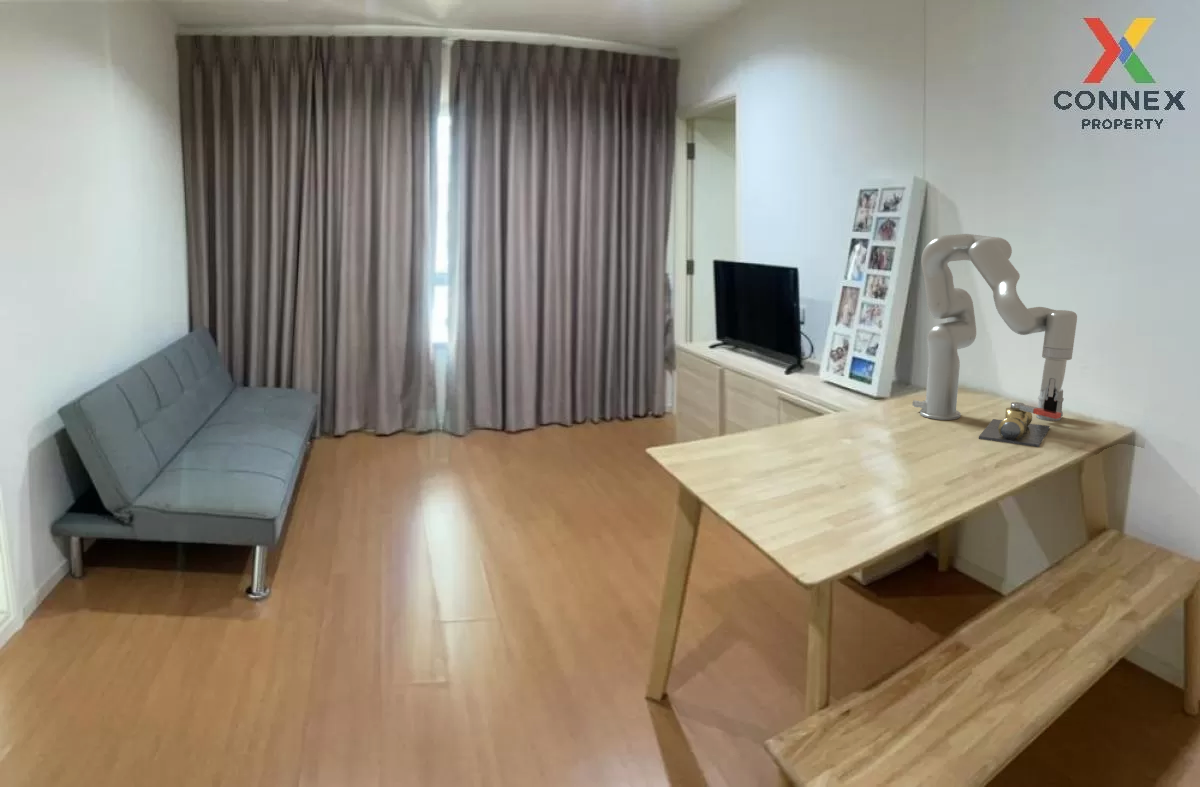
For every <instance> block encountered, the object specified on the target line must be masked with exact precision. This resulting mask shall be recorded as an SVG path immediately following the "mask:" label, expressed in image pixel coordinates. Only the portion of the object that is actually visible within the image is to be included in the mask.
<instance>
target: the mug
mask: <svg viewBox="0 0 1200 787" xmlns="http://www.w3.org/2000/svg"><path fill="white" fill-rule="evenodd" d="M1039 391H1040V392H1039V395H1038V398H1037V399H1038V403H1037V408H1043V409H1044V402H1045V399H1046V391H1047V388H1046V390H1045V391H1043V392H1042V391H1041V389H1040V390H1039ZM1063 396H1064V390H1063V388H1061V390H1060V392H1059V393H1058V396H1057V400H1058V402H1057V410H1056V412H1060V413H1061V418H1057V419H1054V418H1050V417H1046V416H1042V415H1038V414H1035V415H1036V418H1037V419H1039V420H1042V421H1049V422H1051V421H1052V422H1056V421H1061V420H1062V417H1063V415H1064V413H1063V402H1064V397H1063Z"/></svg>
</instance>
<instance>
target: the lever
mask: <svg viewBox="0 0 1200 787" xmlns="http://www.w3.org/2000/svg"><path fill="white" fill-rule="evenodd" d="M1010 407H1011V409H1013V410H1022V411H1026V412H1030V413H1032V415H1033V414H1034V415H1037V414H1038V415H1042V416H1046V417H1050V418H1054V419H1057V418H1061V419H1062V417H1061V413H1060V412H1055V411H1051V410H1047V409H1043V408H1038V406H1037V407H1036V406H1032V405H1028V404H1025V403H1023V402H1017V401H1014V402H1010Z"/></svg>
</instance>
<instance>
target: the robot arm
mask: <svg viewBox="0 0 1200 787" xmlns="http://www.w3.org/2000/svg"><path fill="white" fill-rule="evenodd" d="M1012 253H1013V250H1012V245H1011V244H1010V242H1009V241H1007V240H1006V239H1005V238H1002V237H999V236H987V235H980V234H972V233H960V234H959V233H957V234H945V235H941V236H938V237H935V238H933V239H932V240H931V241H930V242H928V243H927V245H926V246H925V247H924V249H923V251H922V253H921V259H920V261H921V269H922V274H923V279H924V288H925V296H926V303H927V309H928V312H929V315H930V316H931V317H932V318H934V319H937V320H945V319H946V322H942V323H938V324H936V325H935V326H933V327H932V328H931V329H930V330H929V331H928V334H927V338H926V339H927V341H926V344H927V352H928V366H927V376H926V377H927V380H926V391H925V392H926V394H925V396H926V397H925V400H922V401H920V400H915V399H913V400H912V406H913V407H914V408H921V409H920V410H919V415H921V417H924V418H927V419H932V420H941V421H949V420H950V421H953V420H958V419H960V418H961V416H962V413H961V412H960V411H959V410H957V405H958V404H957V403H958V394H959V393H958V390H959V378H960V358H959V354H958V350H961V349H964V348H967V347H970V346H971V345H972V344H973V343H974V342H975V340H976V338H977V324H976V316H975V315H976V314H975V309H974V301H973V299H972V297H971V295H970V293H969V292H968V291H967V290H965V289H963V288H960V287H959V288H958V287H955V285H954V277H953V273H952V271H951V268H950V267H949V265H948V263H949V262H958V261H959V262H960V261H970V262H971V263H972V265H973V267H975V268H976V270H977V271H978V272H979V274H980V275H981V277H983V279H984V280H985V282H986V284H987V285H988V286H989V287H990V289H991V291H992V294H993V295H992V296H993V301H994V304H995V309H996V311H997V313H998V314H999V316H1000V318H1002V320H1003V322H1004V324H1006V326H1007V327H1008V328H1009V329H1010V330H1011V331H1012V332H1014V333H1015V334H1016V335H1017V334H1018V335H1020V336H1026V335H1031V334H1035V333H1036V334H1037V333H1042V332H1044V338H1043V344H1042V345H1043V346H1042V351H1041V352H1042V353H1041V357H1042V359H1045V360H1044V364H1043V365H1044V366H1043V371H1042V377H1041V385H1040V390H1041V391H1042V392H1043V391H1045V390H1046V388H1047V391H1046V399H1045V402H1044V409H1047V410H1051V411H1055V412H1056V410H1057V402H1058V400H1057V396H1058V393H1059V392H1060V390H1061V389H1062V387H1063V384H1064V379H1065V375H1066V374H1065V373H1066V369H1067V361H1069V360H1072V359H1073V352H1074V346H1075V345H1074V344H1075V336H1076V329H1077V323H1078V322H1077V321H1078V314H1077V313H1076V312H1074V311H1072V310H1067V309H1058V310H1057V309H1053V308H1052V309H1051V308H1048V307H1044V306H1036V307H1028V308H1027V306H1026V305H1025V304H1024V303H1023V301H1022V300H1021V298H1020V296H1019V295H1018V291H1017V286H1018V285H1017V284H1018V282H1019V280H1020V277H1021V274H1020V273H1019V271H1018V270H1017V269H1016V268H1015V266H1014V265H1013V263H1012V262H1011V260H1010V258H1011V256H1012Z"/></svg>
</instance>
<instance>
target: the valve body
mask: <svg viewBox="0 0 1200 787" xmlns="http://www.w3.org/2000/svg"><path fill="white" fill-rule="evenodd" d="M1032 421H1033V413H1030V412H1026V411H1022V410H1013V409H1011V406H1010V407H1006V408H1005V415H1004V419H997V418H993V419H992V420H991V421H990V422H989V423H988V425H987V426H986V427H985V428H984V429H983V431H982V432H981V433H980V434H979V435H978V439H979V440H985V441H986V440H987V441H991V440H992V442H993V441H994V442H1000V443H1006V444H1014V445H1021V446H1027V447H1036V448H1040V446H1041V444H1042V442H1043V441H1044V438H1045V437H1046V436H1047V433H1048V432H1049V430H1050V425H1043V424H1035V423H1032Z"/></svg>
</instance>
